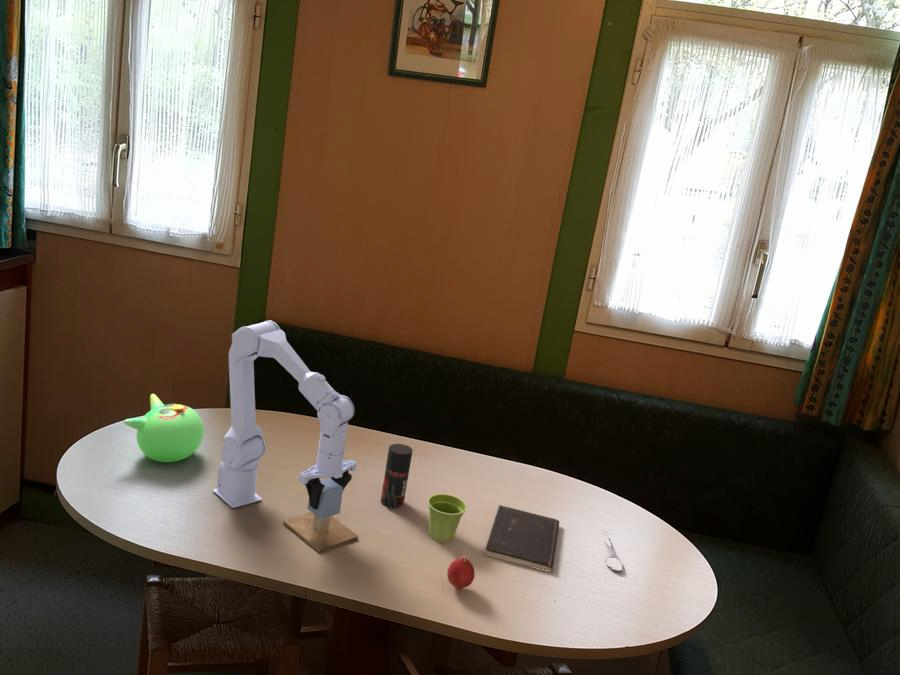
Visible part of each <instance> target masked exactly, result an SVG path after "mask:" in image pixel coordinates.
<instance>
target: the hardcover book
mask: <svg viewBox="0 0 900 675" xmlns="http://www.w3.org/2000/svg"><path fill="white" fill-rule="evenodd" d="M559 527H560V521H559V519H556V518H553V517H548V516H546V515H545V516H544V515H540V514H536V513H533V512H528V511H525V510H520V509H516V508H513V507H509V506H505V505H502V504H501V505H498V509H497V512H496V514H495V518H494V520H493V524H492V526H491V530H490V533H489V537H488V540H487V543H486V546H485V556H487V557H491V558H496V559H498V560H502V561H506V562H510V563H513V562H514V564H517V563H518V565H521V564H522V566H525V565H526V567H528V566H531V567H530V568H532V567H535V568H534V569H536V568H539V569H538V570H540V569H544V570H548V571H551V572H552V573H553V568H554V563H555V561H554V560H555V555H556V548H557V542H558V533H559ZM551 572H550V573H551Z"/></svg>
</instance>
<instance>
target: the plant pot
mask: <svg viewBox="0 0 900 675" xmlns="http://www.w3.org/2000/svg"><path fill="white" fill-rule="evenodd" d="M427 504H428V509H429V516H428V517H429V520H428V522H429V523H428V534H429V536H430V538H431V539H432V540H435V541H436V542H440V543H444V542H451V541H453V540H454V538H455V535H456V532H457V529H458V527H459V523H460V521H461V518H462V516H464V514H465V513H466V511H467V507H468V505H467V503H466V502H465V501H464V499H461V498H460V497H458V496H455V495H453V494H448V493H447V494H446V493H437V494H436V493H435V494H433V495H430V497H428V499H427Z"/></svg>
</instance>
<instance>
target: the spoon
mask: <svg viewBox="0 0 900 675" xmlns="http://www.w3.org/2000/svg"><path fill="white" fill-rule="evenodd" d="M608 549H609V552H610V555H609V556H608V557H607V558H610V557H611V558H617V559H619V558H618V557H617V556H616V554H615V552H614V550H613V547H612V548H611V547H610V546H609V547H608ZM613 568H614V567H612V568H610V569H611V570H613V571H616V572H622V571H621V570H616V569H613Z"/></svg>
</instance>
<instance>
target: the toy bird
mask: <svg viewBox="0 0 900 675" xmlns="http://www.w3.org/2000/svg"><path fill="white" fill-rule="evenodd" d="M149 404H150V411H149V410H148V412H147V413H145V414H144V415H143V417H132V418H131V417H130V418H126V419H124V421H123V424H124V425H125V426H127V427H130V428H132V429H135V430H136V441H137V445H138V448H139V449H140V451H141V452H142V453H143V455H144V456H146V457H147V458H149V459H151V460H153V461H157V462H160V463H174V462H175V463H176V462H178V461H182V460H184V459H186V458H188V457H190V456H191V455H193V454H194V453H195V452H196V451H197V450H198V449H199V448H200V446H201V444H202V442H203V439H204V436H205V426H204V422H203V419H202V417H201V416H200V414H199V413H198V412H197V411H196V410H195V409H193V408H192V407H189V406H188V405H187V406H186V405H183V404H181V403H179V404H177V403H168V404H164V403H163V401H161V399H160V398H159V397H158V396H157V395H156V394H155V393H151V394H150V396H149Z"/></svg>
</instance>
